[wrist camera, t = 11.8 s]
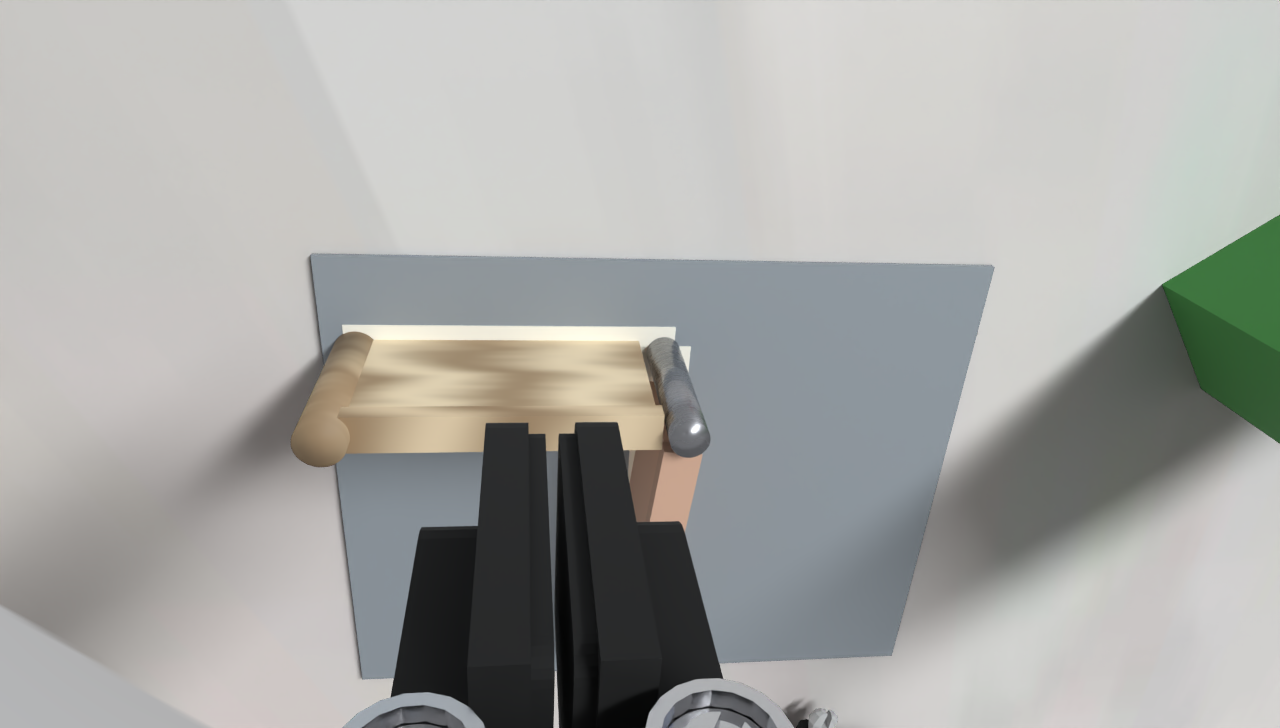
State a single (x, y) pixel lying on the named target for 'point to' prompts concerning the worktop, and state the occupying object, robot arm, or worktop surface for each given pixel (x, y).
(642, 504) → the fence gate
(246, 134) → the worktop surface
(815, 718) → the robot toy
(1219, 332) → the hardback book
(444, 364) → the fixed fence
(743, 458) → the card
